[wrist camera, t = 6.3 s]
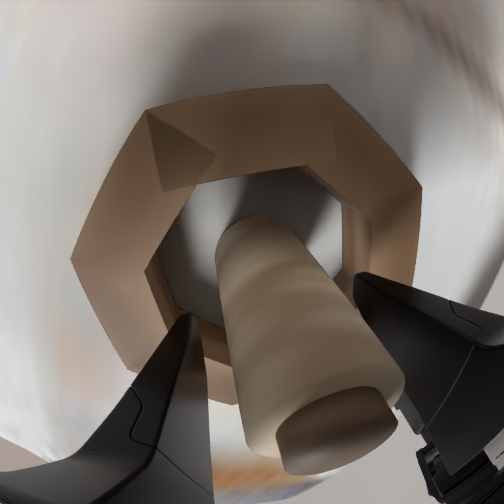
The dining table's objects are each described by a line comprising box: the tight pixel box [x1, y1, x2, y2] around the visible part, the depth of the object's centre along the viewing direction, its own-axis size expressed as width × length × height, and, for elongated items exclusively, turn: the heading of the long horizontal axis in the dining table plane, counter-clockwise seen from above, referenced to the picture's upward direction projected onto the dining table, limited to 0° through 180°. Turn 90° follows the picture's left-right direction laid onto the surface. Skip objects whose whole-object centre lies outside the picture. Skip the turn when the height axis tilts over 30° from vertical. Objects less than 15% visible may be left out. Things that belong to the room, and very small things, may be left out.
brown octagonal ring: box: [71, 84, 422, 405], centre depth 11 cm, size 13×13×2 cm
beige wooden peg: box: [215, 216, 405, 476], centre depth 8 cm, size 4×4×9 cm
